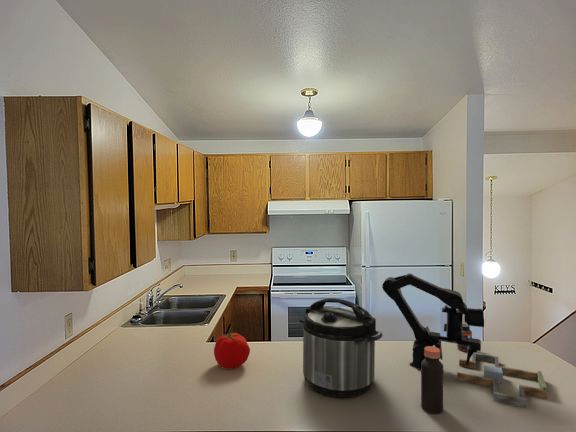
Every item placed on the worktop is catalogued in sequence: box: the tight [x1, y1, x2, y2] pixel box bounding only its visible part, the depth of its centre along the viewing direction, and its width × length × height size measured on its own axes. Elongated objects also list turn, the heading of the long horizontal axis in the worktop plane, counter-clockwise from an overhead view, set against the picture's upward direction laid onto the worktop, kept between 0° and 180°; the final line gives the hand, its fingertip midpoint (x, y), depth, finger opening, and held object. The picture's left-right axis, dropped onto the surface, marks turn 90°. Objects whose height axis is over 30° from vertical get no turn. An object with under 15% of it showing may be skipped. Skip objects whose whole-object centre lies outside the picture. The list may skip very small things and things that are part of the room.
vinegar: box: [420, 345, 444, 415], centre depth 117 cm, size 7×7×20 cm
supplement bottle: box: [456, 323, 473, 353], centre depth 163 cm, size 6×6×11 cm
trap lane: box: [456, 352, 548, 409], centre depth 135 cm, size 28×34×4 cm
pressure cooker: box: [299, 297, 383, 398], centre depth 136 cm, size 30×28×32 cm
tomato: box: [213, 332, 251, 370], centre depth 150 cm, size 16×14×14 cm
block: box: [483, 364, 504, 384], centre depth 136 cm, size 6×5×4 cm
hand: (454, 361), depth 143 cm, fingers open, 9 cm apart
